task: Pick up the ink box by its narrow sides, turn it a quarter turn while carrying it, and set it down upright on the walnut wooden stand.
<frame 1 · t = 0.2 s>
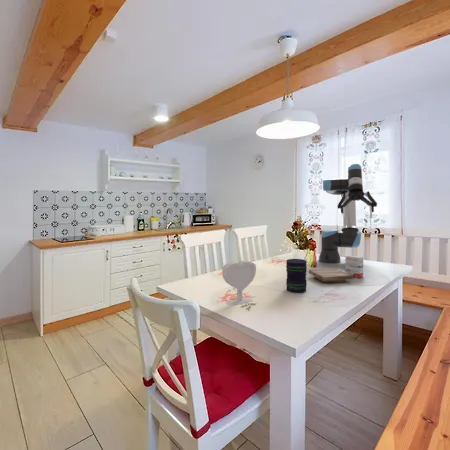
hand: (357, 217, 150), 35 cm above the table, tool tilted 35°, fingers open, 13 cm apart
ink box: (354, 276, 158), on the table
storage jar: (296, 290, 135), on the table
heart sculpture: (239, 301, 121), on the table
walnut stand: (329, 279, 153), on the table
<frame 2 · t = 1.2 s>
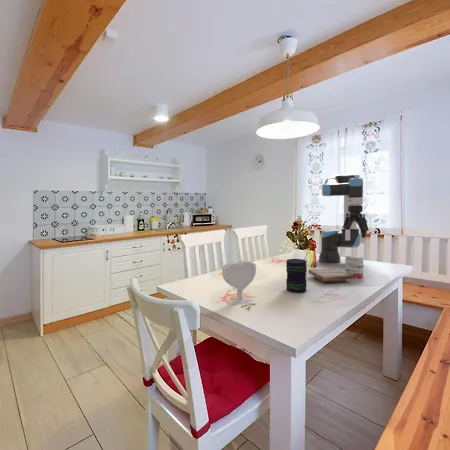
hand: (354, 241, 157), 20 cm above the table, tool pointing down, fingers open, 13 cm apart
nothing on the table moved.
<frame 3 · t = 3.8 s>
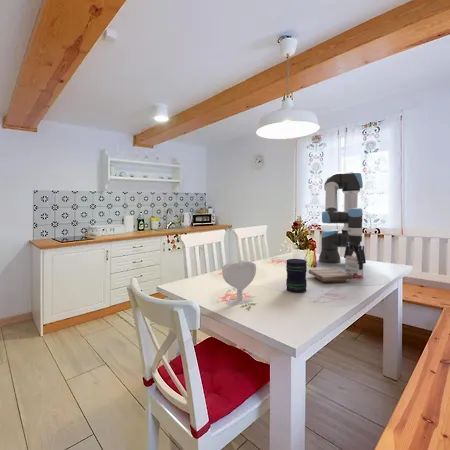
hand: (354, 272, 158), 2 cm above the table, tool pointing down, fingers closed on ink box, 9 cm apart
ink box: (354, 276, 158), on the table, touching gripper
everything else where it was.
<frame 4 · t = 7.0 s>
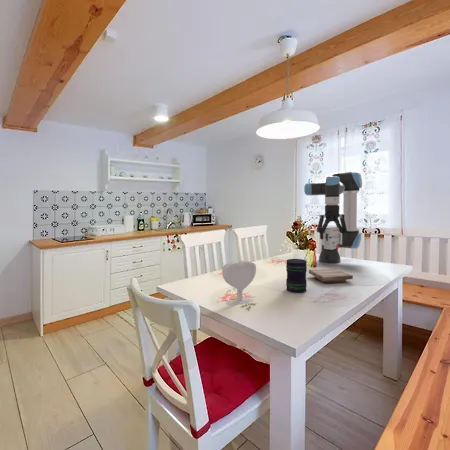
hand: (331, 244, 152), 20 cm above the table, tool pointing down, fingers closed on ink box, 9 cm apart
ink box: (331, 248, 152), point 18 cm above the table, touching gripper
everything else where it was.
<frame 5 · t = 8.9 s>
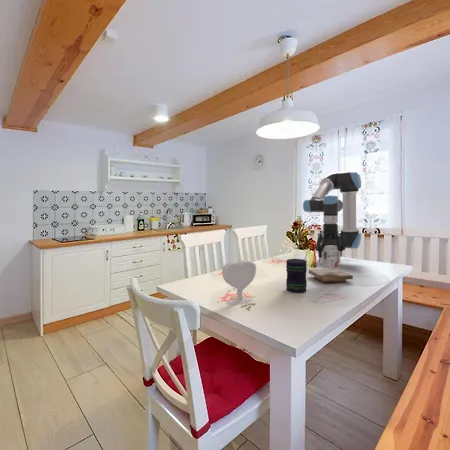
hand: (329, 262, 152), 10 cm above the table, tool pointing down, fingers closed on ink box, 9 cm apart
ink box: (329, 266, 152), point 7 cm above the table, touching gripper
everything else where it was.
when the fingers open (8 cm above the table, at t = 10.3 s): ink box drops 1 cm, resting on walnut stand.
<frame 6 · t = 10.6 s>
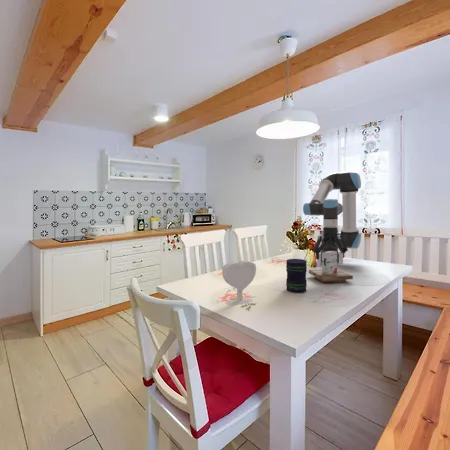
hand: (329, 264, 152), 9 cm above the table, tool pointing down, fingers open, 13 cm apart
ink box: (329, 272, 153), point 4 cm above the table, touching walnut stand
everything else where it was.
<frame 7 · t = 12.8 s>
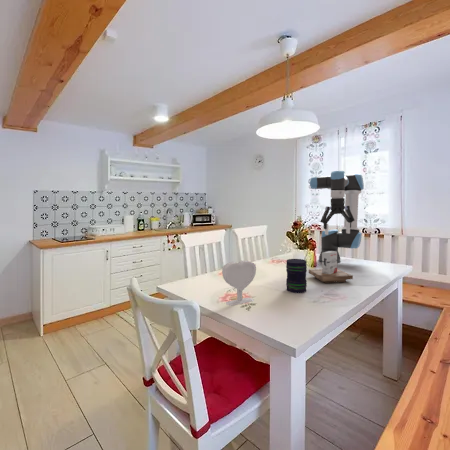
hand: (337, 234, 159), 25 cm above the table, tool pointing down, fingers open, 13 cm apart
nothing on the table moved.
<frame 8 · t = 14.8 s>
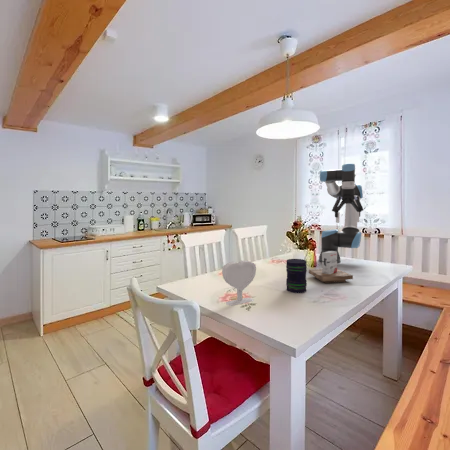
hand: (347, 222, 172), 31 cm above the table, tool pointing down, fingers open, 13 cm apart
nothing on the table moved.
at the end: ink box inside the target area on the walnut stand (0.2 cm from its centre), point 3.8 cm above the walnut stand's base; ink box tilted 0°; the gripper is holding nothing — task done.
